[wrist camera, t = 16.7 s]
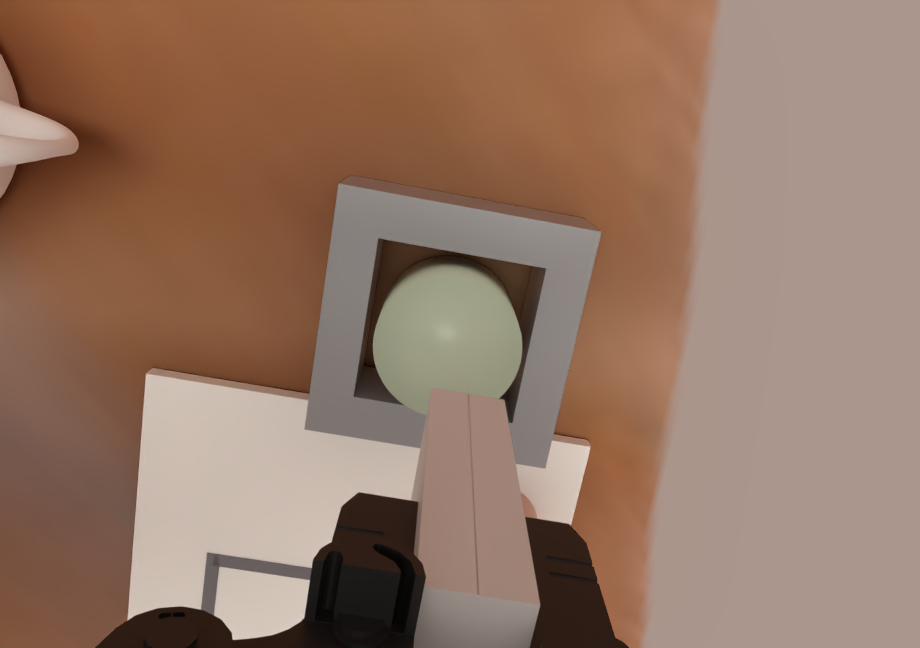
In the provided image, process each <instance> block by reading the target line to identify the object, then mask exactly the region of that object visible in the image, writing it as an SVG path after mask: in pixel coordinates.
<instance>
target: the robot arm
mask: <svg viewBox="0 0 920 648" xmlns="http://www.w3.org/2000/svg"><path fill="white" fill-rule="evenodd" d="M95 648H629V647H628V646H627V645H626V644H625V643H624V642H622V641H620V640H618V639H616V638H615V636H614V632H613V629H612V626H611V623H610V619H609V616H608V613H607V609H606V606H605V603H604V600H603V596H602V593H601V590H600V587H599V584H597V577H596V573H595V570H594V567H592V560H591V557H590V554H589V551H588V547H587V544H586V542H585V541H584V540H583V539H582V538H581V537H580V536H579V535H578V533H577V532H576V531H575V530H574V529H573V528H572V527H571V526H570V525H569V524H567V523H561V522H555V521H549V520H542V519H536V518H530V517H525V514H524V509H523V503H522V497H521V491H520V486H519V480H518V474H517V469H516V463H515V457H514V451H513V446H512V440H511V434H510V428H509V423H508V417H507V411H506V406H505V400H503V399H497V398H491V397H485V396H479V395H473V394H468V393H462V392H456V391H450V390H444V389H438V388H432V389H431V394H430V399H429V405H428V410H427V416H426V421H425V426H424V432H423V437H422V442H421V448H420V453H419V459H418V464H417V469H416V475H415V480H414V485H413V491H412V496H411V500H405V499H398V498H392V497H386V496H380V495H374V494H367V493H361V492H358V493H357V494H356V495H355V496H353V497H352V498H351V499H350V500H348V501H347V502H346V503H345V504H344V505H342V507H341V510H340V514H339V517H338V521H337V524H336V529H335V531H334V535H333V538H332V542H331V543H329V544H327V545H325V546H324V547H322V548H321V549H320V550H319V552H318V553H317V555H316V556H315V557H314V559H313V563H312V570H311V577H310V583H309V590H308V597H307V603H306V610H305V616H304V619H303V620H302V621H301V622H299V623H298V624H296V625H294V626H293V627H291V628H290V629H288V630H285V631H282V632H280V633H277V634H274V635H270V636H264V637H258V638H250V639H239V640H233V639H232V632H231V631H230V630H229V628H228V627H227V626H226V625H225V623H224V622H223V621H222V620H221V619H220V618H218V617H216V616H214V615H212V614H210V613H208V612H206V611H204V610H200V609H194V608H189V607H183V606H179V607H165V608H157V609H153V610H150V611H147V612H144V613H141V614H138V615H135V616H134V617H132V618H131V619H129V620H128V621H126V622H124V623H123V624H121V625H120V626H118V627H117V628H116V629H115V630H114V631H113V632H111V633H110V634H109V635H108V636H107V637H106V638H105V639H104V640H103V641H102V642H101V643H100V644H99V645H97V646H96V647H95Z"/></svg>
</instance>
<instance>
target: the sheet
mask: <svg viewBox="0 0 920 648" xmlns="http://www.w3.org/2000/svg"><path fill="white" fill-rule="evenodd" d="M308 400H309V394H307V393H301V392H295V391H289V390H283V389H277V388H271V387H265V386H259V385H253V384H247V383H241V382H235V381H229V380H222V379H216V378H210V377H204V376H198V375H192V374H186V373H180V372H174V371H168V370H162V369H156V368H152V369H151V370H150V371H148V372H147V373H146V381H145V394H144V408H143V421H142V434H141V448H140V461H139V474H138V488H137V501H136V514H135V527H134V541H133V554H132V567H131V581H130V594H129V607H128V620H129V619H131V618H132V617H134V616H135V615H138V614H141V613H144V612H147V611H150V610H153V609H157V608H165V607H179V606H183V607H189V608H194V609H200V610H204V611H206V612H208V613H210V614H212V615H214V616H216V617H218V618H220V619H221V620H222V621H223V622H224V623H225V625H226V626H227V627H228V628H229V630H230V631H231V632H232V639H233V640H239V639H250V638H258V637H264V636H270V635H274V634H277V633H280V632H282V631H285V630H288V629H290V628H291V627H293V626H294V625H296V624H298V623H299V622H301V621H302V620H303V619H304V616H305V610H306V603H307V597H308V590H309V583H310V577H311V570H312V563H313V559H314V557H315V556H316V555H317V553H318V552H319V550H320V549H321V548H322V547H324V546H325V545H327V544H329V543H331V542H332V538H333V535H334V531H335V529H336V524H337V521H338V517H339V514H340V510H341V507H342V505H344V504H345V503H346V502H347V501H348V500H350V499H351V498H352V497H353V496H355V495H356V494H357V493H358V492H361V493H367V494H374V495H380V496H386V497H392V498H398V499H405V500H411V496H412V491H413V485H414V480H415V475H416V469H417V464H418V459H419V453H420V448H415V447H409V446H403V445H397V444H390V443H384V442H378V441H372V440H366V439H360V438H354V437H347V436H341V435H335V434H329V433H323V432H317V431H310V430H304V429H305V421H306V414H307V407H308ZM590 448H591V446H590V444H589V442H588V440H585V439H579V438H573V437H567V436H561V435H555V434H553V438H552V442H551V447H550V451H549V455H548V459H547V463H546V468H545V469H544V468H538V467H532V466H526V465H520V464H516V469H517V474H518V480H519V486H520V491H521V493H522V494H523V495H525V496H526V497H527V498H528V499H529V500H530V502H531V503H532V505H533V506H534V509H535V511H536V515H537V519H542V520H549V521H555V522H561V523H567V524H569V525H570V526H571V523H572V519H573V515H574V511H575V507H576V503H577V499H578V495H579V492H580V488H581V484H582V480H583V476H584V472H585V468H586V464H587V460H588V456H589V452H590ZM128 620H127V621H128Z"/></svg>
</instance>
